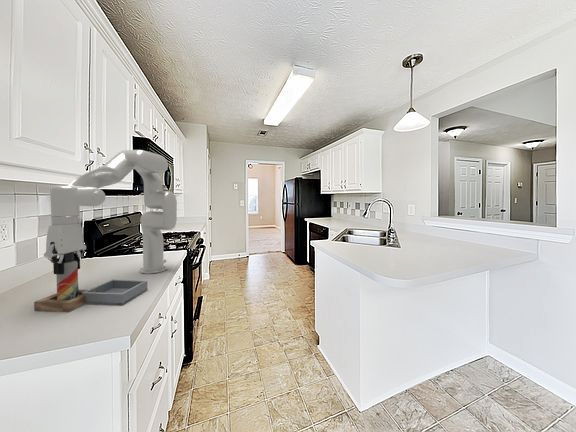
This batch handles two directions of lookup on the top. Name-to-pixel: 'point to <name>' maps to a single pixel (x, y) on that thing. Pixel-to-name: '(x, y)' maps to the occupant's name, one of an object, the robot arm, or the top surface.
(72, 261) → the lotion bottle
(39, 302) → the socket stand
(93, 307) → the top surface
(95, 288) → the tray
